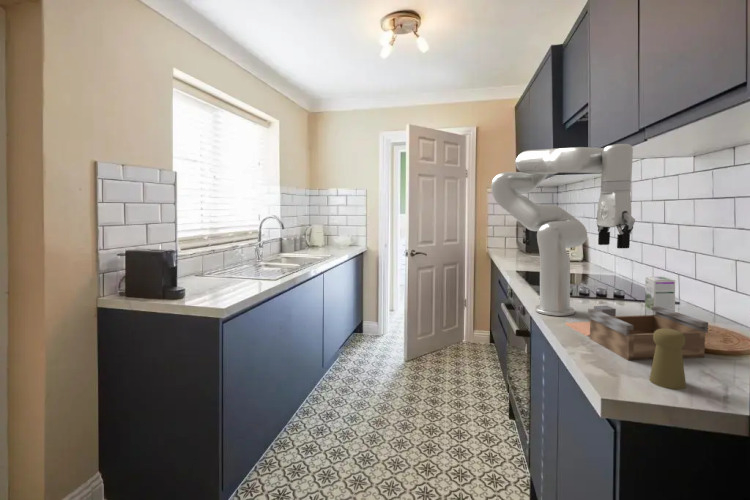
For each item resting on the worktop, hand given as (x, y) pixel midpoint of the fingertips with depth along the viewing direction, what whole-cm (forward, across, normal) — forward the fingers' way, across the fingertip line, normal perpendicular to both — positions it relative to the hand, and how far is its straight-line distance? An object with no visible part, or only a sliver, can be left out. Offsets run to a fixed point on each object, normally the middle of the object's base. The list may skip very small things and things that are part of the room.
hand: (613, 246), depth 115 cm
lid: (+25, +2, -3) cm, 25 cm away
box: (+24, +19, -2) cm, 31 cm away
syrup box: (+24, +1, +14) cm, 28 cm away
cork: (+24, +39, -10) cm, 47 cm away
